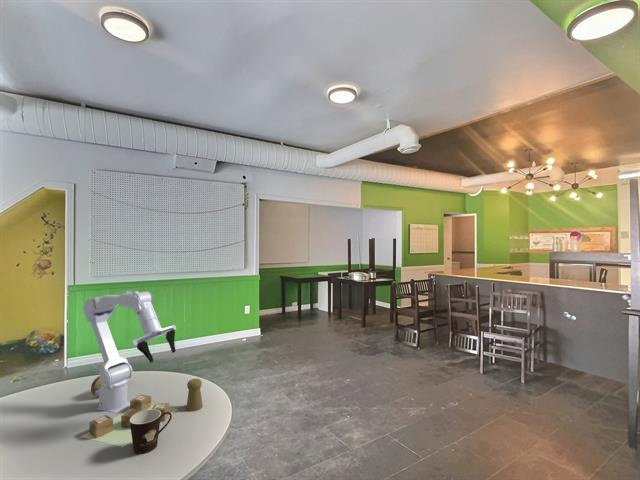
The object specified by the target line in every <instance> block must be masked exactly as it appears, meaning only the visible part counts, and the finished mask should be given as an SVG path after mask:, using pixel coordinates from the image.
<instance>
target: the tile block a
mask: <svg viewBox="0 0 640 480" xmlns="http://www.w3.org/2000/svg"><path fill="white" fill-rule="evenodd" d="M88 423H89V430H88V431H89V432H88V433H89V434H91V435H92V436H94V437H95V438H99V437H101V436H103V435H105V434H107V433H110V432H112V431H113V418H112V417H110V416H109V415H107V414H104V415H103V416H99V417H97V418H95V419H93V420H89V422H88Z"/></svg>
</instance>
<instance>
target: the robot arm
mask: <svg viewBox="0 0 640 480" xmlns="http://www.w3.org/2000/svg"><path fill="white" fill-rule="evenodd" d="M153 303H154V296H153V294H152V293H151V291H142V292H139V290H134V291H133V292H132V291H131V290H125V291H124V292H122V293H120V294H107V295H101V296H96V297H92V298H86V300H85V301H84V303H83V308H82V309H83V313H84V315H85V318H86V320H87V322H89V323H90V325H91V328H92V331H93V333H94V336H95V340H96V341H97V344H98V349H99V350H100V355H101V357H102V360H103V364H102V365H101V367H100V368H99V369H98V373H99V376H100V383H101V385H102V386H101V388H100V390H99V397H98V407H96V410H100V411H105V412H109V413H115V414H116V413H117V412H119V411H121V410H123V409H124V408H126V407H129V406H130V401H131V400H128V383H127V382H130V379H131V378H132V376H133V371H134V370H133V367H132V365H131V364H130V363H129V361H128V359H127V358H125V357H121V356H120V355H119V352H118V349H117V346H116V343H115V341H114V338H113V335H112V332H111V330H110V327H109V324H108V319H110V318H111V317H112V315H113V314H114V312H115V309H116V307H117V306H120V307H121V308H128V309H129V308H130V309H132V311H133V313H134V314H135V315H137V318H138V321H139V324H140V326H141V329H142V331H143V334H144V335H143V336H141V337H138V338H135V339H134V340H131V341H132V342H131V343H132V347H133V348H137V350H138V351H139V352H141V353H142V354H143V355H144V356H145V357H146V358H147V359H148V361H149V362H150V363H153V362H154V357H153V356H152V353H151V350H150V348H149V345H148V342H149V341H152V340H154V339H157V338H160V337H162V336H165V339H166V342H167V343H168V344H169V347H170V350H171V353H172V354H174V353H176V345H175V335H176V331H177V327H176V325H175V324H173V325H170V326H167V327H163V328H162V326H161V323H160V321H159V318H158V316H157V313H156V311H155V309H154V305H153Z"/></svg>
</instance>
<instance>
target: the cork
mask: <svg viewBox="0 0 640 480" xmlns="http://www.w3.org/2000/svg"><path fill="white" fill-rule="evenodd" d="M202 384H203V383H202V380H201V379H200V378H192V379H190V380H189V381H187V386H186V387H187V389H188V394H187V401H186V408H185V409H186V411H187V412H192V413H193V412H198V411H199V410H201V409H203V405H204V404H203V400H202V392H201V387H202Z"/></svg>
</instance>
